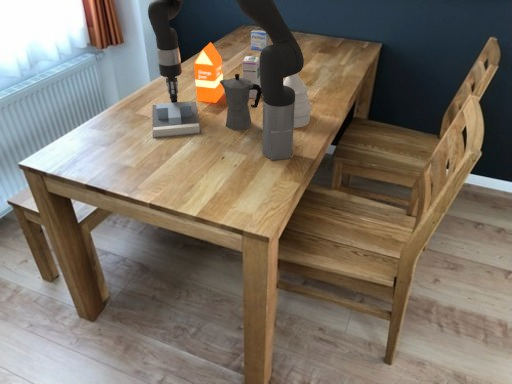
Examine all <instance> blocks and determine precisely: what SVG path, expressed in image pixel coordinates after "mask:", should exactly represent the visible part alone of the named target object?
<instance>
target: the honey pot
mask: <svg viewBox="0 0 512 384" xmlns="http://www.w3.org/2000/svg"><path fill="white" fill-rule="evenodd" d="M283 84H284V85H285V86H288V87H290V88H292V89H293V90H294V91H295V110H294V129H295V128H302V127H305V126H306V125H308V124H309V123H310V121H311V110H312V109H311V108H312V106H311V103H310V99H309V95H308V89H309V88H308V87H307V85H306V84H305V83H304V82H303V80H302V78H301V77H300V75H299V73H297V74H294V75H291V76H289V77H285V78H284V80H283Z"/></svg>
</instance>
